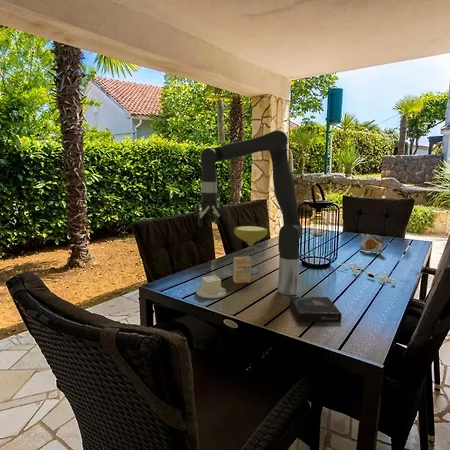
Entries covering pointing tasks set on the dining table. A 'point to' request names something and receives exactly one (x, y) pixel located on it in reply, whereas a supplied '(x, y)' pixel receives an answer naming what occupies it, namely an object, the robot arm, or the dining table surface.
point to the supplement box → (242, 269)
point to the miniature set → (369, 272)
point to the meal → (372, 243)
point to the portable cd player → (315, 309)
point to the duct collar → (211, 285)
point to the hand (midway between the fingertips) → (208, 224)
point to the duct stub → (210, 296)
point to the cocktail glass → (250, 236)
